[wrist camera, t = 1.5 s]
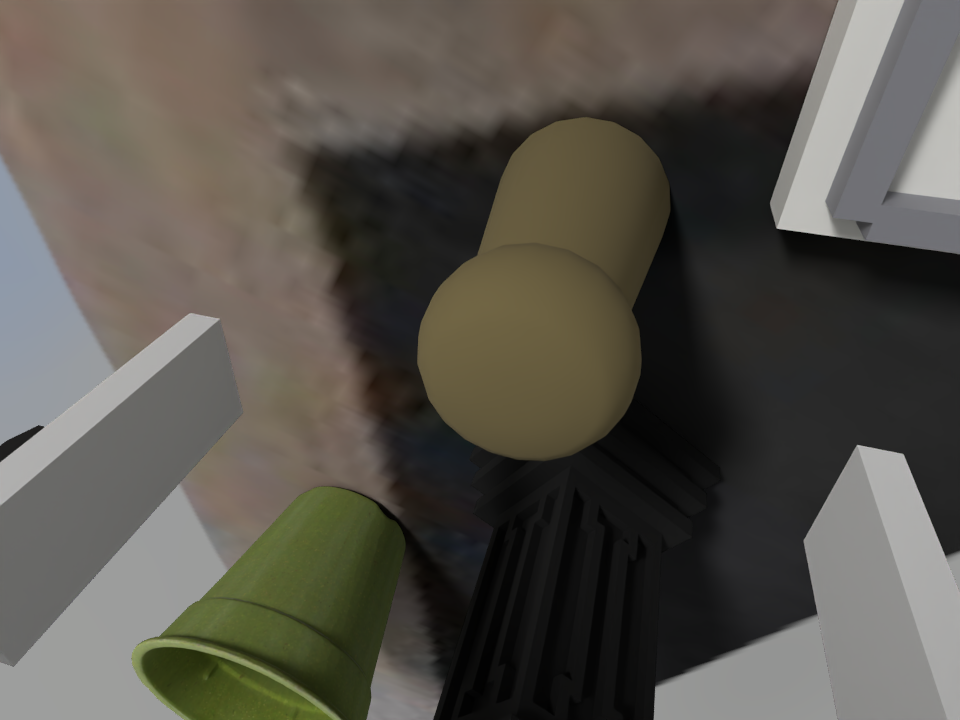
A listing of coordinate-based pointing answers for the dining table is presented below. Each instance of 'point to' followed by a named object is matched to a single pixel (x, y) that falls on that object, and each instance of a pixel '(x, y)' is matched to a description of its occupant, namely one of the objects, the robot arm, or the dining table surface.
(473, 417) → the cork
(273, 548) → the plant pot
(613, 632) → the chess piece
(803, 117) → the pin board
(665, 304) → the dining table surface
